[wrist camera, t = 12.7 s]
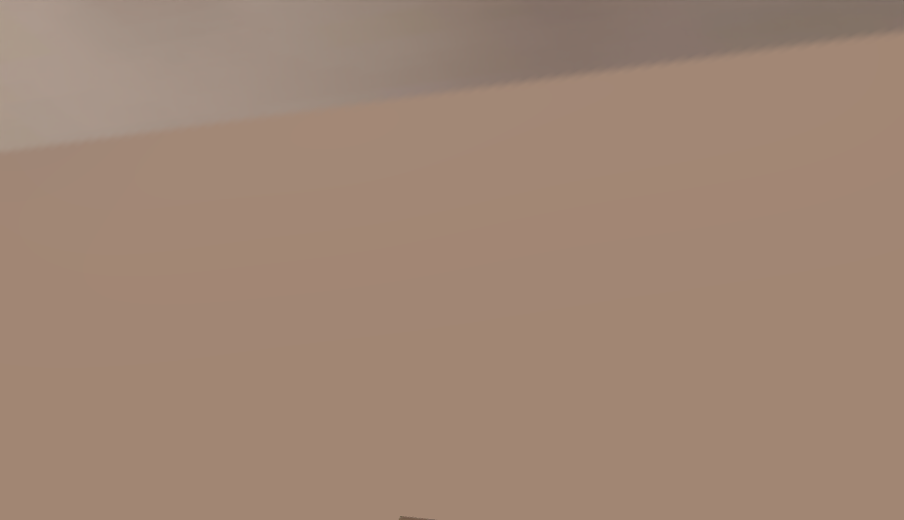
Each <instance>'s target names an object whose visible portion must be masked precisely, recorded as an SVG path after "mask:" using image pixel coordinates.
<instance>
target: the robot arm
mask: <svg viewBox="0 0 904 520" xmlns="http://www.w3.org/2000/svg"><path fill="white" fill-rule="evenodd" d="M399 520H432V519H423V518H413V517H404V516H400V518H399Z"/></svg>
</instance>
